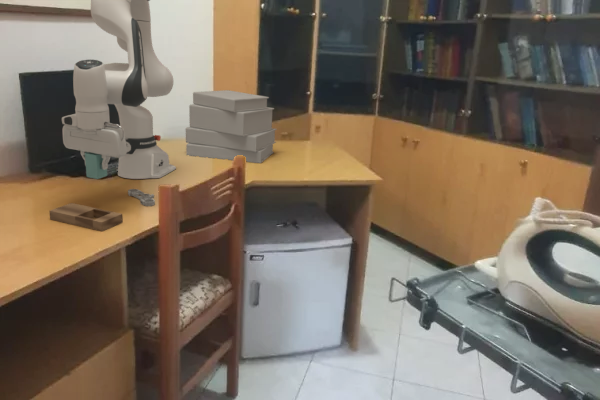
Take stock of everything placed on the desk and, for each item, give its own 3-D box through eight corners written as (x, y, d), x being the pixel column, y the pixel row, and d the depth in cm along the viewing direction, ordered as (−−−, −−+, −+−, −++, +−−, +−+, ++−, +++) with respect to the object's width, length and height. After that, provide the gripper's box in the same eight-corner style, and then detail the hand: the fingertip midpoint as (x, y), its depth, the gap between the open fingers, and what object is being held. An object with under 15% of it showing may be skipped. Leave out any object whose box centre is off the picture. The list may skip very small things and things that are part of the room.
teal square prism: (96, 173, 160) (94, 150, 157) (107, 175, 158) (105, 152, 156) (86, 176, 156) (84, 153, 154) (97, 179, 155) (95, 155, 152)
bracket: (131, 202, 161) (127, 188, 174) (131, 209, 162) (127, 193, 175) (157, 201, 164) (151, 186, 177) (157, 207, 164) (151, 192, 178)
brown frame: (72, 211, 155) (71, 202, 155) (122, 222, 149) (122, 213, 148) (50, 219, 148) (49, 210, 148) (102, 231, 142) (101, 222, 141)
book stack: (260, 166, 218) (262, 102, 210) (179, 157, 224) (178, 94, 217) (279, 151, 246) (281, 94, 238) (206, 144, 252) (206, 88, 245)
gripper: (130, 123, 151) (132, 170, 156) (73, 113, 158) (77, 159, 163) (115, 126, 145) (118, 176, 150) (56, 117, 153) (61, 164, 157)
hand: (96, 167), depth 156 cm, fingers closed on teal square prism, 4 cm apart
